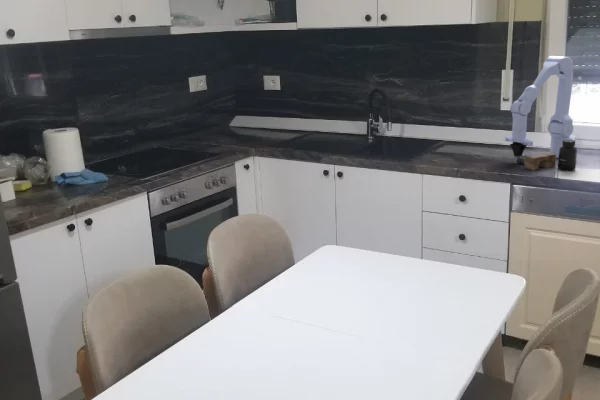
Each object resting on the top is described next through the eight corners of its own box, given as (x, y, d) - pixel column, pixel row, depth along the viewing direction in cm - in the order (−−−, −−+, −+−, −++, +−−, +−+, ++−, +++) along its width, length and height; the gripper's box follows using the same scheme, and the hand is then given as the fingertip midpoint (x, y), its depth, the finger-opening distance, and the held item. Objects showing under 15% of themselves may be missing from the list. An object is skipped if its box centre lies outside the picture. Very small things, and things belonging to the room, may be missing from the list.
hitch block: (546, 163, 266) (546, 152, 265) (555, 166, 262) (555, 154, 260) (524, 167, 261) (525, 156, 260) (533, 170, 257) (534, 158, 256)
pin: (514, 163, 269) (515, 156, 268) (524, 161, 271) (524, 154, 271) (529, 167, 261) (530, 160, 260) (540, 165, 264) (540, 158, 263)
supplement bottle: (557, 170, 254) (559, 142, 251) (557, 167, 260) (559, 138, 257) (575, 171, 252) (578, 142, 248) (575, 167, 258) (577, 139, 254)
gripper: (500, 127, 272) (498, 157, 276) (524, 132, 259) (522, 164, 263) (512, 125, 275) (511, 155, 279) (537, 130, 262) (535, 161, 266)
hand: (517, 159), depth 271 cm, fingers closed
